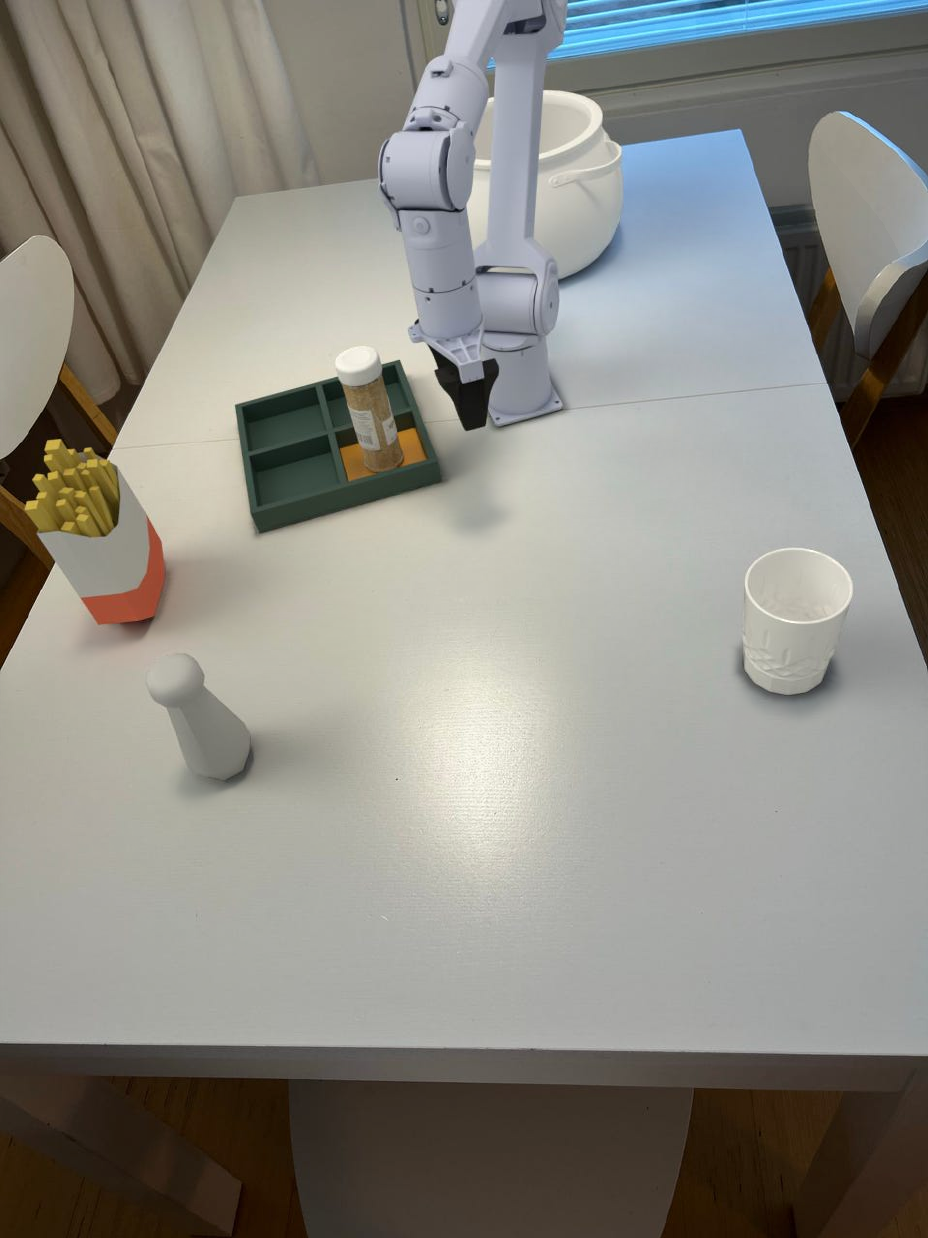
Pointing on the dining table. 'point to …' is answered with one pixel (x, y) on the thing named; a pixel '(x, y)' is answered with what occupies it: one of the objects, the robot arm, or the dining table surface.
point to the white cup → (793, 618)
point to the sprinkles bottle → (369, 407)
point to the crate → (325, 451)
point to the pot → (560, 183)
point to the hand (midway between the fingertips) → (465, 404)
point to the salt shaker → (199, 718)
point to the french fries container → (98, 535)
